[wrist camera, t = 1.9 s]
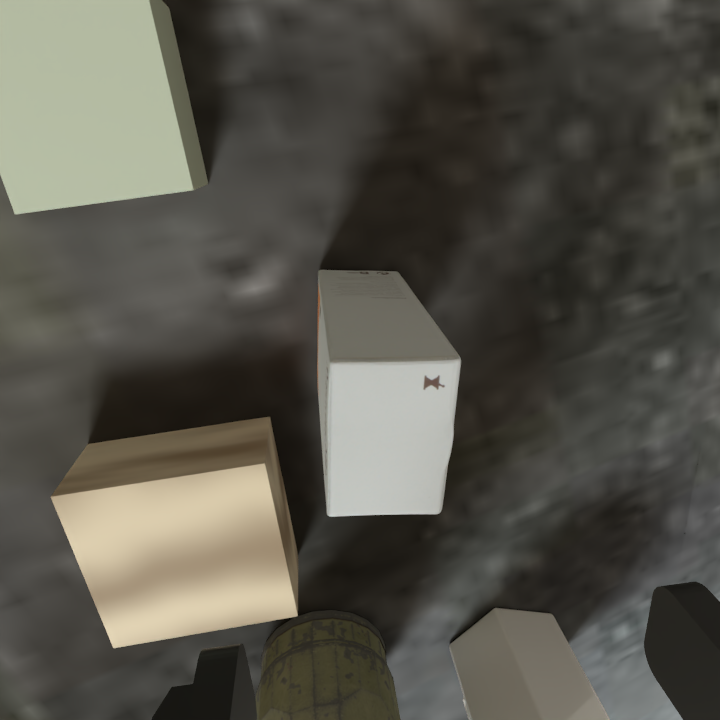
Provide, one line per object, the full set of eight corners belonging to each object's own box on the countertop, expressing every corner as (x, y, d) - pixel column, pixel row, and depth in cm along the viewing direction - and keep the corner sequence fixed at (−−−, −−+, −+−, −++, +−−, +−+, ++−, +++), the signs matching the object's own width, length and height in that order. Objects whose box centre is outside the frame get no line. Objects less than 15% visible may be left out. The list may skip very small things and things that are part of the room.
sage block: (-1, 29, 22) (-62, 5, 18) (170, 9, 22) (144, -19, 18) (57, 204, 24) (15, 214, 21) (209, 183, 25) (193, 189, 21)
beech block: (89, 441, 29) (50, 496, 25) (270, 414, 30) (264, 463, 25) (139, 578, 33) (113, 648, 28) (298, 551, 34) (297, 616, 29)
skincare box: (315, 268, 27) (327, 354, 16) (398, 269, 27) (468, 354, 16) (314, 378, 29) (324, 522, 18) (391, 377, 29) (447, 517, 18)
